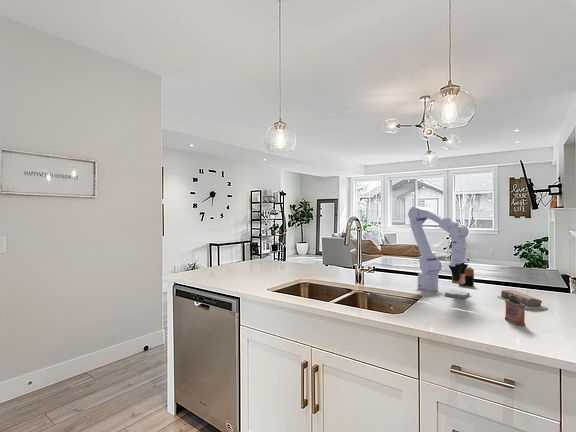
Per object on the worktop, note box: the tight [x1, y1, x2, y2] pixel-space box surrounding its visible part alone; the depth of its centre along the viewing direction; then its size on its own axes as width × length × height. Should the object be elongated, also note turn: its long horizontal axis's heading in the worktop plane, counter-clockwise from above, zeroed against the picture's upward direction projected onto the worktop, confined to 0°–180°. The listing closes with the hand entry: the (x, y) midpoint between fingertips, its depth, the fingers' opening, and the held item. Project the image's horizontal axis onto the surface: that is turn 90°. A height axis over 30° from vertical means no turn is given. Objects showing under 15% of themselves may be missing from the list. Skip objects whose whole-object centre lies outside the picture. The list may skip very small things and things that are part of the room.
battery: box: [458, 266, 475, 288], centre depth 183 cm, size 4×7×10 cm, turn 50°
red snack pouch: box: [504, 294, 526, 327], centre depth 122 cm, size 8×3×10 cm, turn 5°
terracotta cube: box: [451, 273, 465, 285], centre depth 157 cm, size 4×4×4 cm
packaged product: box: [497, 289, 549, 311], centre depth 146 cm, size 18×5×10 cm
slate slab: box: [444, 289, 471, 300], centre depth 157 cm, size 8×8×2 cm
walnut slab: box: [442, 294, 473, 301], centre depth 157 cm, size 10×10×2 cm
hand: (458, 279), depth 157 cm, fingers closed on terracotta cube, 4 cm apart
